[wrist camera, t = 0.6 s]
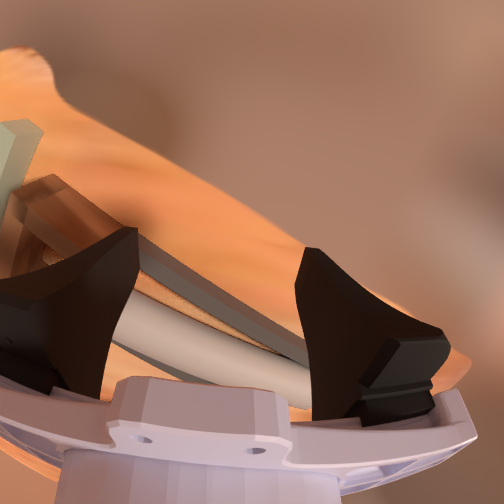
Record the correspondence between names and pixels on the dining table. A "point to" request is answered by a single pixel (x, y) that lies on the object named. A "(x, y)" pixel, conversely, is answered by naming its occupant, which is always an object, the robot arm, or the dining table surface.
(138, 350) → the tube
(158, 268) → the guide rails
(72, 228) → the socket block
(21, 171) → the wall
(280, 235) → the dining table surface
